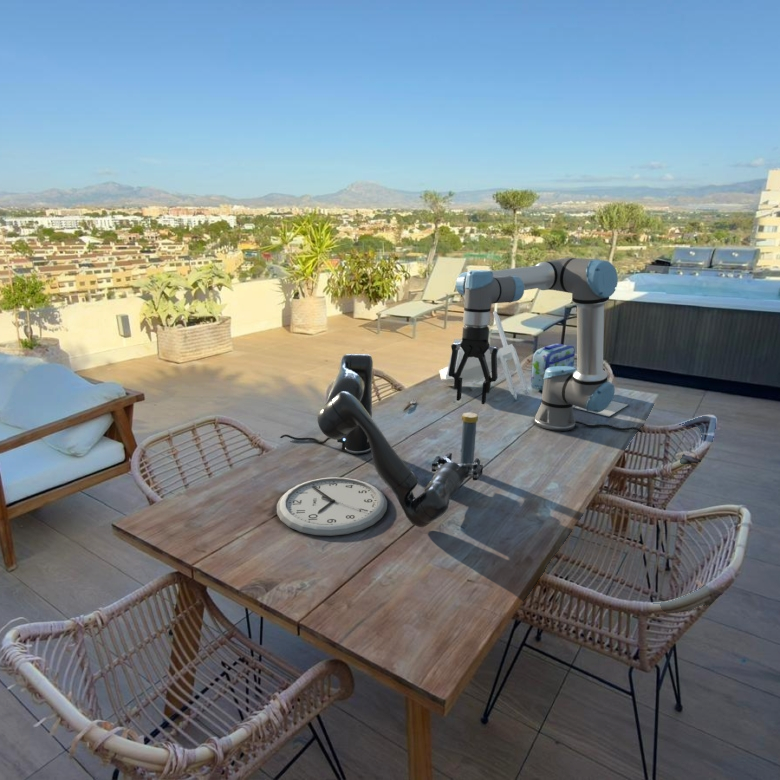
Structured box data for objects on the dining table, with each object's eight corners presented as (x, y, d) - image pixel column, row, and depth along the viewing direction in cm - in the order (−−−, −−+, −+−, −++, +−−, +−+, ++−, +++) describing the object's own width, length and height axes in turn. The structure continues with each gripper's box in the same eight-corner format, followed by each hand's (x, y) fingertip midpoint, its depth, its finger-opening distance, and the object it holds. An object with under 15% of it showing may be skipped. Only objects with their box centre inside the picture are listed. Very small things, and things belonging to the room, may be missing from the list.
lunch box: (547, 395, 239) (552, 351, 233) (526, 390, 247) (530, 347, 240) (574, 384, 257) (579, 343, 251) (554, 380, 264) (558, 339, 258)
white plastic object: (461, 429, 252) (437, 405, 227) (444, 352, 274) (420, 323, 250) (535, 404, 240) (518, 377, 215) (510, 326, 262) (492, 293, 237)
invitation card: (608, 416, 214) (573, 407, 224) (608, 416, 214) (573, 408, 224) (628, 404, 229) (594, 396, 238) (628, 405, 229) (594, 397, 238)
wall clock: (392, 527, 129) (268, 531, 127) (391, 533, 130) (269, 537, 127) (383, 473, 158) (282, 475, 155) (383, 478, 158) (282, 480, 156)
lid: (470, 416, 162) (470, 411, 162) (480, 421, 158) (481, 415, 158) (459, 419, 160) (459, 413, 159) (469, 424, 156) (469, 418, 156)
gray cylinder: (467, 467, 167) (470, 413, 161) (475, 472, 164) (479, 417, 158) (457, 470, 165) (460, 415, 159) (465, 475, 162) (469, 419, 156)
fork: (400, 411, 216) (400, 406, 215) (412, 399, 230) (412, 395, 230) (406, 412, 215) (406, 407, 215) (418, 400, 230) (418, 396, 229)
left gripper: (473, 473, 141) (487, 451, 155) (423, 463, 147) (442, 442, 161) (471, 498, 143) (486, 474, 157) (422, 487, 149) (441, 465, 163)
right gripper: (513, 326, 150) (506, 401, 157) (446, 320, 157) (442, 393, 164) (508, 330, 144) (501, 409, 151) (439, 324, 151) (435, 400, 157)
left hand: (463, 458), depth 159 cm, fingers open, 8 cm apart
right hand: (471, 400), depth 157 cm, fingers open, 7 cm apart
